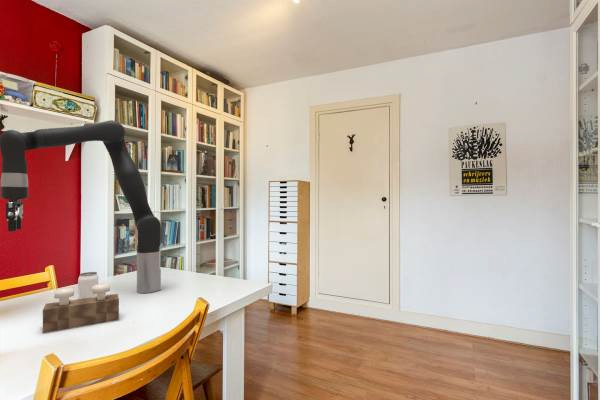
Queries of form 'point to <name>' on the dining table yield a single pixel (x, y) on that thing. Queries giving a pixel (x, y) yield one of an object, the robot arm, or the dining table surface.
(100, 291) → the knob
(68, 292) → the knob
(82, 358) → the dining table surface
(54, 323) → the mount
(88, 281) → the can
